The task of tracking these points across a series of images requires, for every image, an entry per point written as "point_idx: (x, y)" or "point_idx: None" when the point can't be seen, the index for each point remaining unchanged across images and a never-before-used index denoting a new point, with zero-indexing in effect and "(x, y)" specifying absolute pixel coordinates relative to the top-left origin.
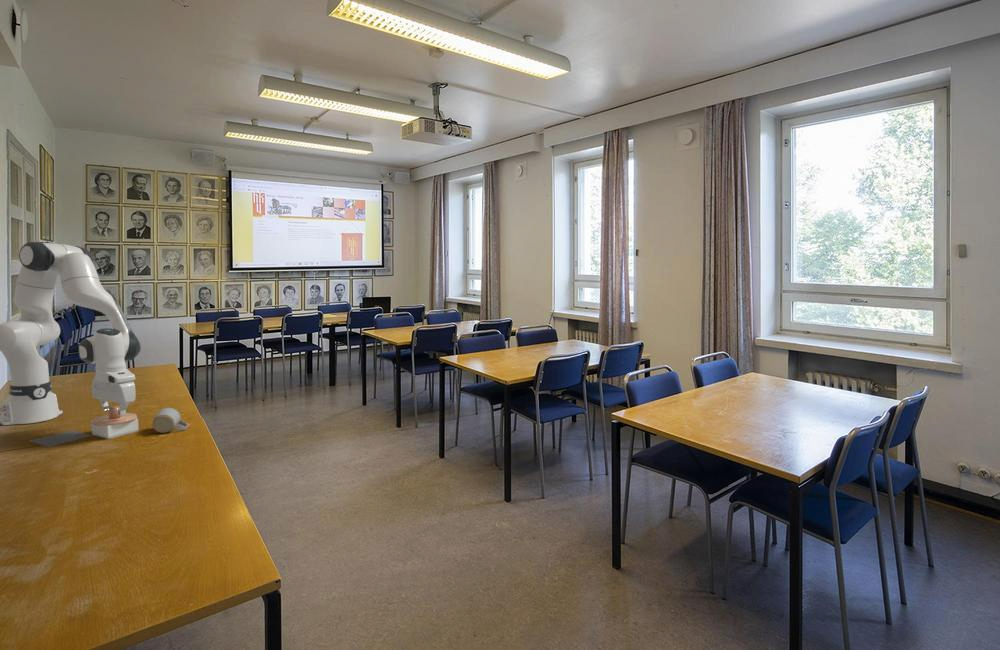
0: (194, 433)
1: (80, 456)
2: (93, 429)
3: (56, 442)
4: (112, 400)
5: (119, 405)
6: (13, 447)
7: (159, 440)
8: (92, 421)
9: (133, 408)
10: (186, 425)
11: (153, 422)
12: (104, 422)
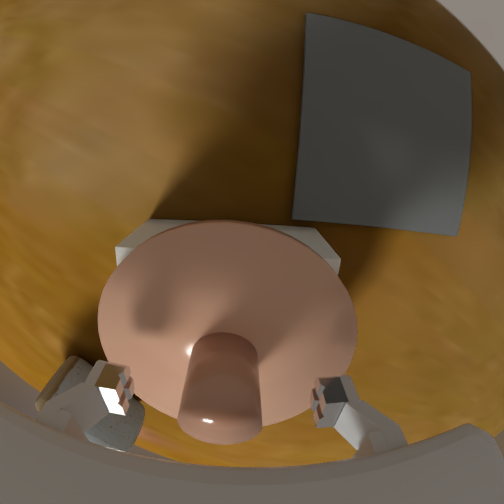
0: (25, 372)
1: (51, 44)
2: (304, 239)
3: (351, 67)
4: (107, 460)
5: (65, 413)
6: (440, 12)
7: (12, 299)
8: (284, 241)
9: (428, 430)
10: None
11: (58, 376)
12: (161, 264)
